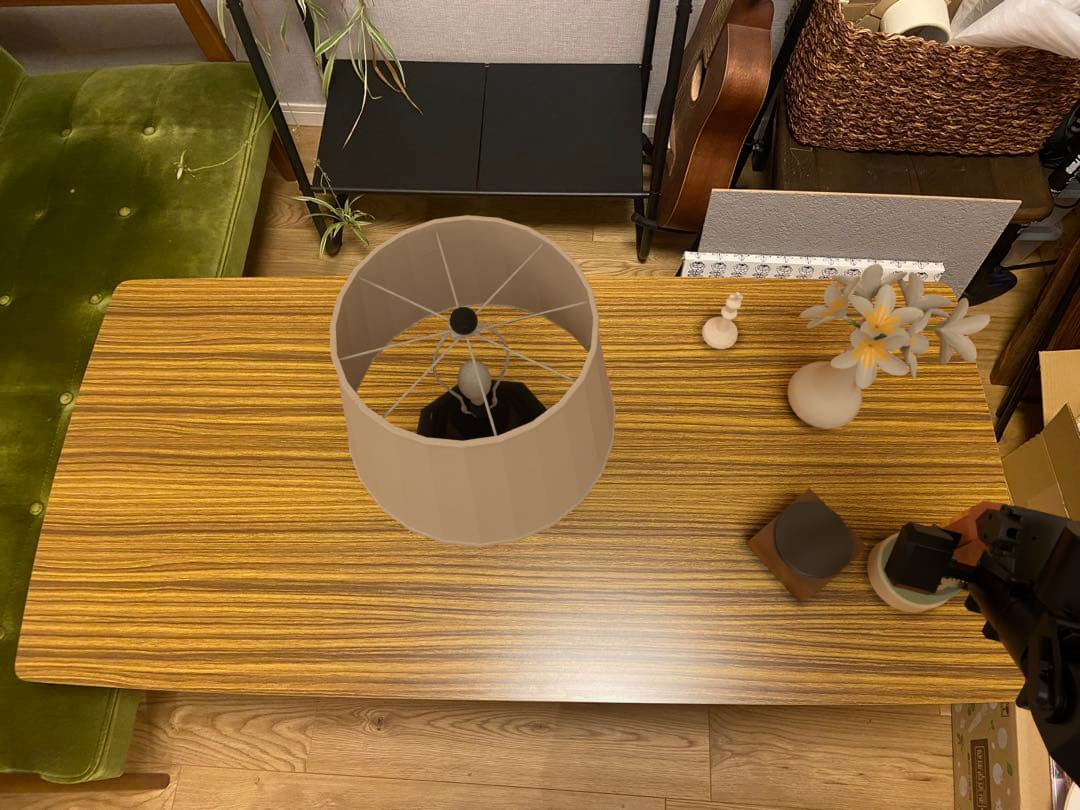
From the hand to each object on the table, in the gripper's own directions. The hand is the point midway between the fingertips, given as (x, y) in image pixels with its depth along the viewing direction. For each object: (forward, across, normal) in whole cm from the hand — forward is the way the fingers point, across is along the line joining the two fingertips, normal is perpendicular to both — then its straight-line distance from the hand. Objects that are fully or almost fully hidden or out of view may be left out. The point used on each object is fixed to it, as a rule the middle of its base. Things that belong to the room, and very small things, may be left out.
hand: (964, 535), depth 74 cm
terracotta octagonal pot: (0, 0, +2) cm, 2 cm away
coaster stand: (+8, +13, +11) cm, 18 cm away
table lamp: (+7, +51, +12) cm, 53 cm away
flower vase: (+23, +12, -4) cm, 26 cm away
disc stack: (+8, 0, +10) cm, 13 cm away
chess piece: (+28, +27, -9) cm, 40 cm away
